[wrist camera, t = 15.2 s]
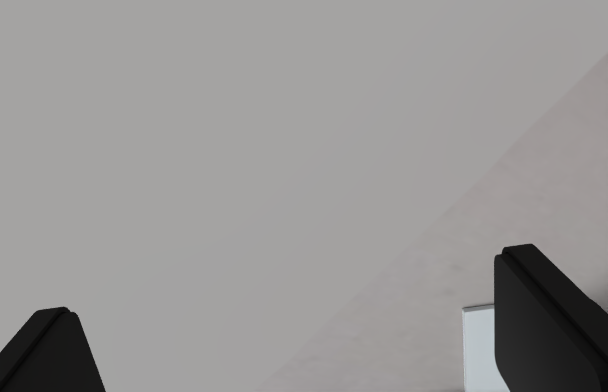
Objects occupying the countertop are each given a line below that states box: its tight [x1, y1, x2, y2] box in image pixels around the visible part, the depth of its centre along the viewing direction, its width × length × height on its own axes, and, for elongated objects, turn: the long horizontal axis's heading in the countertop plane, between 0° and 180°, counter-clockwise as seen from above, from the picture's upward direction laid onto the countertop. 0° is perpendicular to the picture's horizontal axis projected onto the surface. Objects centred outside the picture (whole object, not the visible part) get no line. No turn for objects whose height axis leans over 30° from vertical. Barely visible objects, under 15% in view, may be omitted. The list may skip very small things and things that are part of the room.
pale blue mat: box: [462, 305, 510, 392], centre depth 45 cm, size 10×10×1 cm
